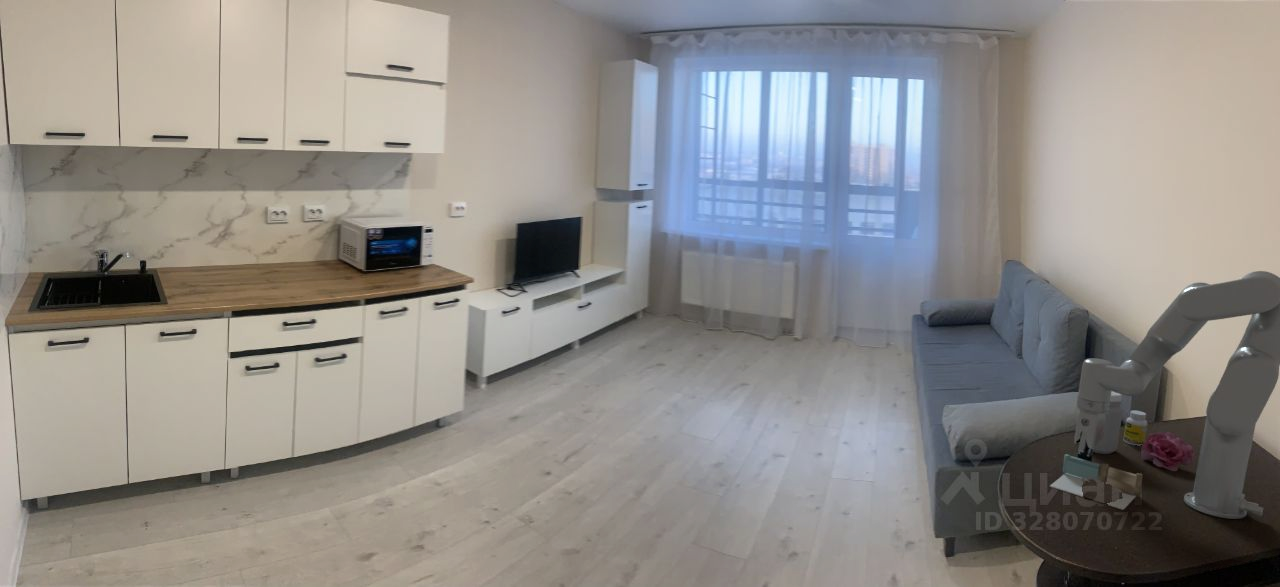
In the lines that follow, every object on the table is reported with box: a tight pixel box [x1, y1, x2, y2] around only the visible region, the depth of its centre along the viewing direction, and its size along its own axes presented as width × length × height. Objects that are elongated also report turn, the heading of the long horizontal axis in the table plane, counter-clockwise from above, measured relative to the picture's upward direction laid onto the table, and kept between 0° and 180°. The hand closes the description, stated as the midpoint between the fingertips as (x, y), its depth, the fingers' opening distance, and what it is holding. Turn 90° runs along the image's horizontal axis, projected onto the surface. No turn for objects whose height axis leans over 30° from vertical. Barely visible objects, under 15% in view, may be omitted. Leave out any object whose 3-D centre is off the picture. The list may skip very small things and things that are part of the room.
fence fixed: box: [1099, 462, 1143, 498], centre depth 197 cm, size 9×2×6 cm, turn 44°
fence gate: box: [1062, 453, 1102, 479], centre depth 203 cm, size 9×1×5 cm, turn 44°
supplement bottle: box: [1122, 409, 1148, 447], centre depth 230 cm, size 5×5×10 cm
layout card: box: [1049, 473, 1137, 511], centre depth 198 cm, size 17×15×1 cm
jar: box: [1093, 391, 1123, 455], centre depth 224 cm, size 10×10×18 cm
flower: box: [1140, 431, 1195, 472], centre depth 214 cm, size 11×10×10 cm
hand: (1083, 467), depth 207 cm, fingers closed
